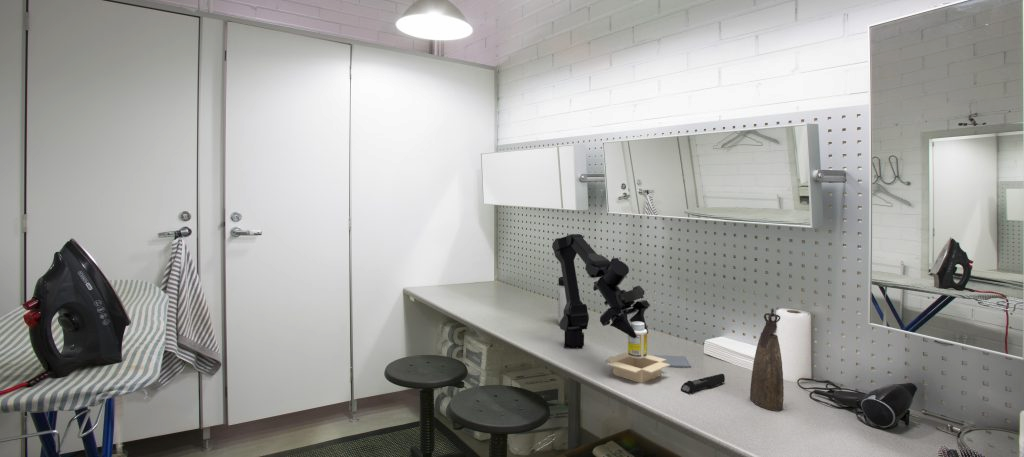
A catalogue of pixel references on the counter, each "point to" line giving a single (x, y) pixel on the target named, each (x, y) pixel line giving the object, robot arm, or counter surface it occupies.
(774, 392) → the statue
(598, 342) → the counter surface
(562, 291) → the travel mug
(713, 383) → the electric trimmer
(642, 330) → the supplement bottle
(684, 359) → the rubber mat
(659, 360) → the carton
